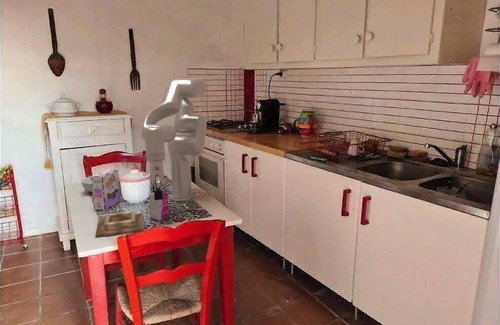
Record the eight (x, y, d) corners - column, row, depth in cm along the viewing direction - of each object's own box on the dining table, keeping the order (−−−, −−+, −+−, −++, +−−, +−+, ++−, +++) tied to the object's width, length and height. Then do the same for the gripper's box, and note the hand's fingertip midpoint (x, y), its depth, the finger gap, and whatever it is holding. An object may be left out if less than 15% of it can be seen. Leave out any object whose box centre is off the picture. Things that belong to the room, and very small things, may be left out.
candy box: (105, 211, 168) (101, 176, 165) (93, 210, 170) (89, 175, 166) (121, 201, 182) (118, 168, 178) (110, 200, 183) (107, 168, 179)
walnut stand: (142, 215, 163) (142, 207, 163) (144, 231, 147) (143, 223, 146) (98, 220, 158) (97, 212, 157) (95, 237, 141) (94, 229, 141)
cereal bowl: (100, 185, 208) (98, 172, 206) (123, 188, 202) (122, 175, 200) (75, 194, 193) (74, 181, 191) (100, 197, 187) (99, 184, 185)
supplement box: (160, 221, 156) (158, 196, 153) (150, 218, 159) (148, 193, 156) (169, 217, 161) (168, 192, 158) (159, 214, 164) (158, 189, 161)
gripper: (166, 160, 146) (168, 201, 150) (162, 152, 162) (164, 190, 166) (147, 161, 144) (149, 203, 148) (145, 153, 160) (147, 191, 164)
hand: (157, 196), depth 157 cm, fingers open, 9 cm apart
